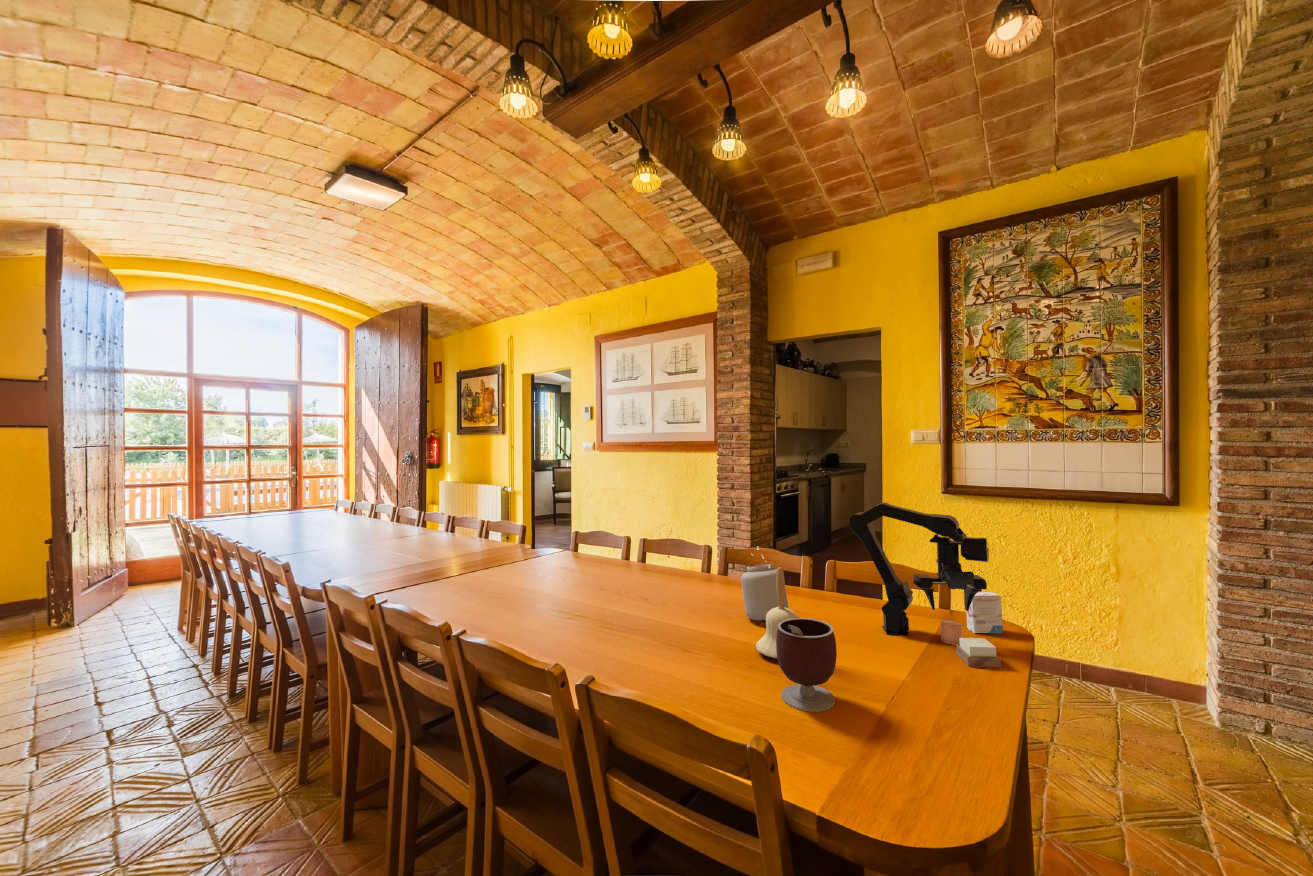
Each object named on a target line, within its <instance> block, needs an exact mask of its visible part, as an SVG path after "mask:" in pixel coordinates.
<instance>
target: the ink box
mask: <svg viewBox="0 0 1313 876" xmlns="http://www.w3.org/2000/svg"><path fill="white" fill-rule="evenodd" d="M965 611H966V610H965ZM1003 624H1004V623H1003V609H1002V596H1001V595H1000V594H998V593H996V592H993V591H990V592H988V591H987V592H984V591H981V592H978V593H976V594H975V596H974V598H973V600H972V602H971V605H970V607H969V610H968V611H966V626H967V627H966V629H967V628H968V629H967V630H968V631H970V630H971V631H972V632H971V631H970V632H971V633H973V634H975V633H989V634H988V635H993V634H994V635H997V634H998V635H999V634H1000V635H1002V634H1004V628H1003V627H1004V626H1003Z"/></svg>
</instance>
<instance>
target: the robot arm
mask: <svg viewBox="0 0 1313 876" xmlns="http://www.w3.org/2000/svg"><path fill="white" fill-rule="evenodd" d="M881 517H887V518H889V519H894V520H898V521H901V522H905V523H909V524H912V525H915V526H919V527H923V528H925V529H927V530H928V531H930V532H932V533H935V534H933V537H931V538H930V540H929V543H935V544H936V553H937V554H936V555H937V557H936V558H937V559H936V561H935V562H936V563H937V572H936V576H937V577H931V576H930V575H928V573H926V574H925V573H915V574H913V576H912V582H913V584H914V585H915V586H916V587H918V588H920V589H921V590H922V591H923V592H924V594H925V596H926V598H927V601H928V603H929V605H930V608H931V610H933V611H935V609H936V607H935V597H934V592H935V588H933V586H934V585H947V587H948V588H949V589H950V590H962V591H963V602H964V609H965V611H968V610H969V607H970V605H971V602H972V600H973V598H974V596H975V594H976V593H978V592H983V590H987V589H988V583H987V581H986V579H985V578H983V577H982V576H980V575H978V574H975V573H974V571H963V569H962V564H961V563H960V556H961V557H962V558H964V559H965V561H975V562H981V563H982V562H984V563H989V560H990V557H989V555H990V551H989V549H990V548H989V545H988V538H986V537H972V536H971V537H970V536H969V537H968V536H967V534H966V533H965V532H964V531H963V530H962V529H961V527H960V523H959V521H958V519H957V518H956V517H955V516H952V515H950V514H939V513H938V514H937V513H926V512H922V511H917V510H912V509H909V508H906V507H902V506H897V505H893V504H890V503H888V502H880V503H878V504H877V505H875V506H874V507H872V508H870V509H869V510H867V511H865V512H864V511H860V512H857V513H855V514H853V515H851V516H850V518H849V519H848V526H849V528H850V529H851V531H852V533H854V535H855V536H856V537H857V538H858V539H859V540H860V541H862V543H863V546H864V547H865V549H866V551H867V552H868V555H869V556H870V559H871V560H872V562H873V564H874V565H875V568H876V570H877V572H878V575H880V578H881V579H882V581H883V583H884V588H885V594H886V598H887V602H885V604H884V605H883V606H881V612H882V613H883V614H882V615H883V616H882V617H883V625H881V626H882V629H883V630H884V632H885V634H886V635H897V636H898V635H900V636H901V635H902V636H909V635H910V633H909V631H910V625H909V624H910V621H909V617H908V616H907V612H905V610H907V609H908V607H910V605H911V604H912V603H913V599H914V596H913V594H914V591H913V590H912V589H911V588H910V585H909V583H908V581H907V580H905V581H902V580H901V579H900V578H899V577H898V575H897V574H896V572H895V569H894V568H893V565H892V564H891V562H890V561H889V558H888V557H887V555H886V553H885V551H884V549H883V547H882V545H881V543H880V542H879V540H878V538H877V535H876V529H875V524H874V521H876V520H878V519H880V518H881ZM959 547H960V549H959Z"/></svg>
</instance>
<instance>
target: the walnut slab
mask: <svg viewBox="0 0 1313 876" xmlns="http://www.w3.org/2000/svg"><path fill="white" fill-rule="evenodd" d="M955 650H956V656H957V655H958V656H959V657H960V658H961V659H962V660H963V661H964V662H965V663H966V664H967V665H968V666H983V667H982V668H989V667H1001V668H1002V658H1001V657H1000V656H999V655H998V654H997V653H996V657H984V656H969V655H968V654H967V653H966V652H965V651H964V650H963V649H962V648H961V647H960V645H955ZM958 656H957V657H958ZM959 657H958V658H959ZM960 658H959V659H960ZM961 659H960V660H961ZM962 660H961V661H962ZM963 661H962V662H963ZM964 662H963V663H964ZM965 663H964V664H965ZM966 664H965V665H966ZM967 665H966V666H967ZM968 666H967V667H968Z"/></svg>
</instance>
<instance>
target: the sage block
mask: <svg viewBox="0 0 1313 876" xmlns="http://www.w3.org/2000/svg"><path fill="white" fill-rule="evenodd" d="M959 643H960V647H961V648H962V649H963V650H964V651H965V652H966V653H967V654H968V655H969V656H984V657H996V654H997V647H996V646H995V645H994V644H992V643H991V642H990V641H989V640H987V639H986V638H984V637H962V638H959Z"/></svg>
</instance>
